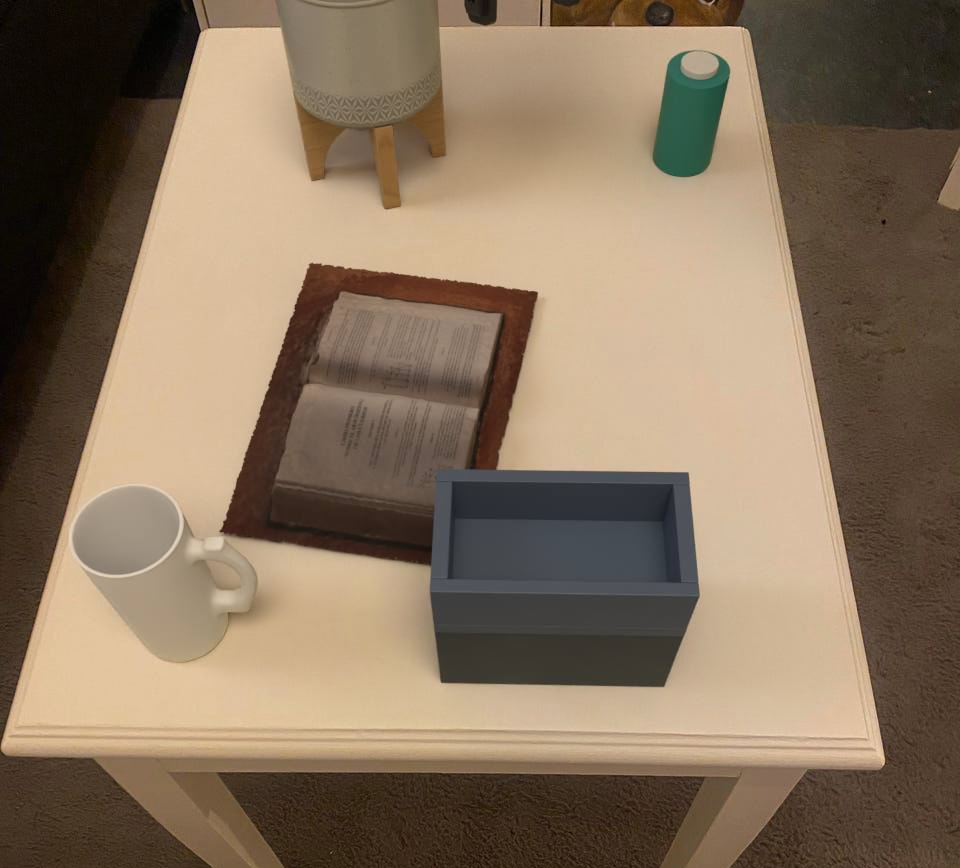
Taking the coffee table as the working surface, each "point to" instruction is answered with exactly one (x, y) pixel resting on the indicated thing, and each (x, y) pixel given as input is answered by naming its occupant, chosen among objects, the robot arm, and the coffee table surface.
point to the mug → (158, 570)
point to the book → (379, 409)
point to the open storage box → (561, 576)
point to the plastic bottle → (690, 112)
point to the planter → (364, 76)
